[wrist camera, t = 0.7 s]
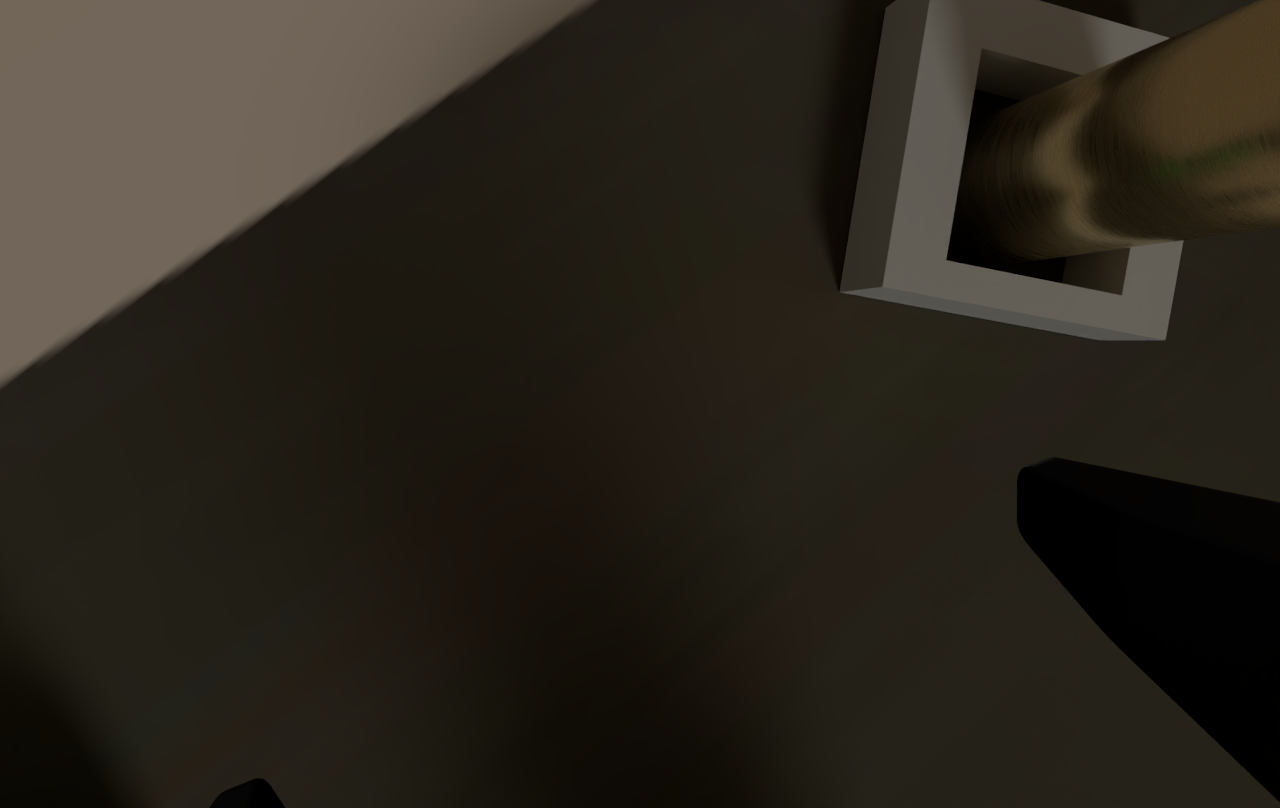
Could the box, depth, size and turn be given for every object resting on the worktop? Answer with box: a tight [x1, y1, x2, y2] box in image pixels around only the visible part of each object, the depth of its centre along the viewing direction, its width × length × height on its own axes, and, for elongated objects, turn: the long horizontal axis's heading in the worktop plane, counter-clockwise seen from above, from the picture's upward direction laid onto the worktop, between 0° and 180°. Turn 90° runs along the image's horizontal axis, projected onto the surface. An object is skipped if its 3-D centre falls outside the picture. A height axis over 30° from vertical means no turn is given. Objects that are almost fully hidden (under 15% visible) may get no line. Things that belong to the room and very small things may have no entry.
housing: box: [840, 0, 1183, 340], centre depth 24 cm, size 8×9×2 cm
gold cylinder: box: [949, 0, 1280, 266], centre depth 19 cm, size 5×5×13 cm
